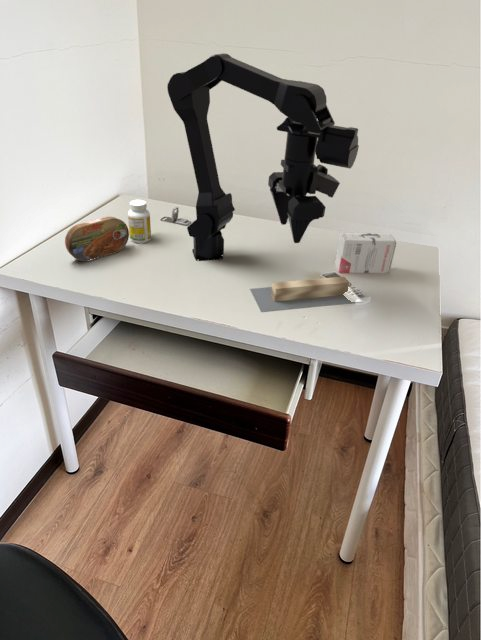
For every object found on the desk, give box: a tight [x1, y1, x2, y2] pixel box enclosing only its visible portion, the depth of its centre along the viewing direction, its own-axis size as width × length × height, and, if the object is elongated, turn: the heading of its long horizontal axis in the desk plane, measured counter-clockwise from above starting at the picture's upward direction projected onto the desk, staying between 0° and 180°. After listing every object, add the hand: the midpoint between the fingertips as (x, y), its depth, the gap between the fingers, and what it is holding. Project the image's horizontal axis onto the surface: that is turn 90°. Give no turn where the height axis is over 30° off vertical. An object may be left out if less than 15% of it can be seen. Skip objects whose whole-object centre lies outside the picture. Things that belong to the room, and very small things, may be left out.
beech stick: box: [271, 276, 350, 301], centre depth 97 cm, size 16×2×3 cm, turn 104°
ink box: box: [334, 232, 397, 274], centre depth 107 cm, size 9×5×12 cm
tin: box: [64, 216, 130, 262], centre depth 108 cm, size 15×3×8 cm, turn 131°
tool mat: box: [249, 286, 355, 313], centre depth 98 cm, size 22×9×1 cm, turn 104°
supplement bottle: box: [127, 199, 152, 244], centre depth 115 cm, size 5×5×10 cm
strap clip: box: [159, 206, 192, 227], centre depth 127 cm, size 8×3×4 cm, turn 68°
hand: (289, 233), depth 98 cm, fingers open, 9 cm apart
